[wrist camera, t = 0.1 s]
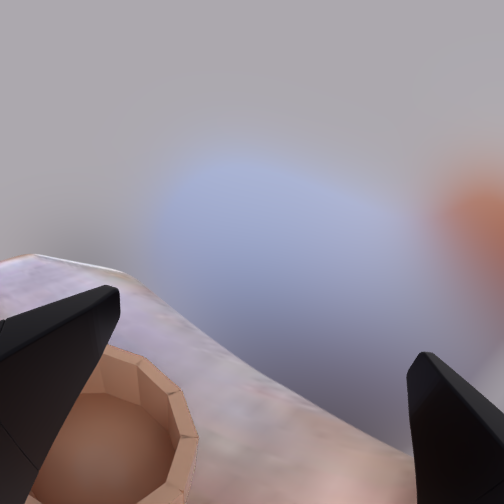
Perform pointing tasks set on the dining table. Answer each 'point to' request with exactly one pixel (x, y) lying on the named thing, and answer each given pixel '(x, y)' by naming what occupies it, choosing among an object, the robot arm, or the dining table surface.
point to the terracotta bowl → (121, 440)
